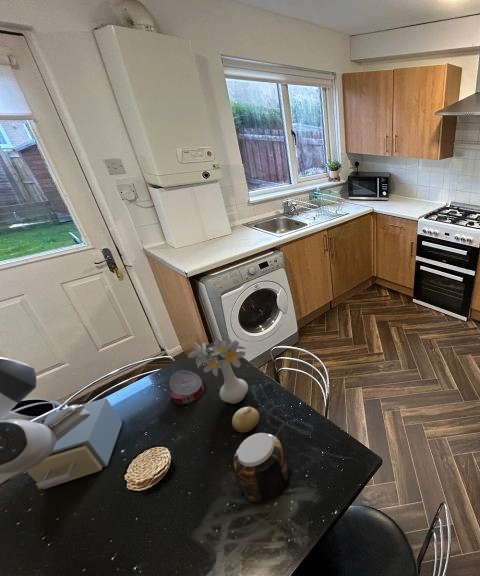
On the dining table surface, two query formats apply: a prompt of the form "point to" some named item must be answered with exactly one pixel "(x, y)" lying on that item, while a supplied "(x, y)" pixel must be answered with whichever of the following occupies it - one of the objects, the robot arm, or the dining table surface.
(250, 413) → the yellow-brown oval lump
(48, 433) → the robot arm
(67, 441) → the drawer casing
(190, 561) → the dining table surface
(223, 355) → the flower vase
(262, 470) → the jar
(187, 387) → the canned food
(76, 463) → the beige drawer
